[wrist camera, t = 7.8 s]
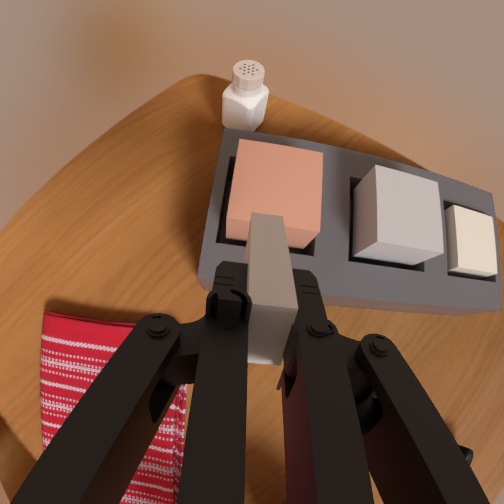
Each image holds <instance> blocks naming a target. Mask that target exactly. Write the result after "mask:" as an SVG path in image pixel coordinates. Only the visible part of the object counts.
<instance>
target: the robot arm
mask: <svg viewBox="0 0 504 504" xmlns="http://www.w3.org/2000/svg"><path fill="white" fill-rule="evenodd" d="M282 359H284V368H283V371H282V374H281V377H280V379H279V382H278V385H277V390H280V388H281V387H282V406H283V425H284V446H285V469H286V495H287V504H374V499H373V493H372V487H371V481H370V475H369V472H370V474H371V476H372V478H373V480H374V483H375V485H376V487H377V489H378V492H379V494H380V496H381V498H382V500H383V503H384V504H490V503H489V501H488V499H487V497H486V495H485V493H484V491H483V489H482V487H481V486H480V484H479V482H478V480H477V478H476V476H475V474H474V473H473V471H472V469H471V467H470V465H469V463H468V462H467V460H466V458H465V456H464V455H463V453H462V451H461V449H460V448H459V446H458V444H457V442H456V441H455V439H454V437H453V436H452V434H451V432H450V431H449V429H448V427H447V426H446V424H445V422H444V421H443V419H442V417H441V416H440V414H439V412H438V411H437V409H436V407H435V406H434V404H433V403H432V401H431V399H430V398H429V396H428V395H427V393H426V392H425V390H424V388H423V387H422V385H421V384H420V382H419V381H418V379H417V378H416V376H415V374H414V373H413V371H412V370H411V368H410V367H409V365H408V364H407V362H406V361H405V359H404V358H403V356H402V355H401V353H400V352H399V350H398V349H397V347H396V346H395V345H394V343H393V342H392V341H391V340H390V339H388V338H386V337H385V336H383V335H379V334H368V335H365V336H364V337H363V338H362V340H361V342H360V341H357V340H354V339H350V338H347V337H345V336H342V335H340V334H339V333H338V330H337V328H336V326H335V325H334V324H333V323H332V322H331V321H330V320H328V319H327V316H326V312H325V308H324V304H323V300H322V296H321V292H320V288H319V285H318V281H317V278H316V277H315V276H314V274H313V273H312V272H311V271H310V270H303V269H295V268H292V266H291V260H290V254H289V248H288V243H287V237H286V231H285V226H284V220H283V216H277V215H270V214H263V213H255V212H251V218H250V225H249V231H248V238H247V245H246V251H245V258H244V263H238V262H230V261H222V262H221V263H220V264H219V265H218V266H217V267H216V271H215V277H214V282H213V287H212V291H210V292H209V294H208V296H207V299H206V314H205V316H204V317H202V318H201V319H200V320H197V321H195V322H191V323H184V324H179V323H178V322H177V321H176V320H175V319H174V318H173V317H171V316H169V315H166V314H160V313H158V314H150V315H148V316H145V317H143V318H142V319H141V320H140V321H139V322H138V323H137V324H136V325H135V327H134V328H133V329H132V331H131V332H130V333H129V334H128V336H127V337H126V338H125V340H124V341H123V342H122V344H121V345H120V346H119V347H118V349H117V350H116V351H115V353H114V354H113V355H112V357H111V358H110V359H109V361H108V362H107V363H106V365H105V366H104V367H103V369H102V370H101V371H100V373H99V374H98V375H97V377H96V378H95V380H94V381H93V382H92V384H91V385H90V386H89V388H88V389H87V390H86V392H85V393H84V395H83V396H82V397H81V399H80V400H79V402H78V403H77V404H76V406H75V407H74V408H73V410H72V411H71V413H70V414H69V416H68V417H67V418H66V420H65V421H64V423H63V424H62V426H61V427H60V428H59V430H58V431H57V433H56V434H55V436H54V437H53V439H52V440H51V441H50V443H49V444H48V446H47V447H46V449H45V450H44V452H43V453H42V455H41V456H40V458H39V459H38V461H37V462H36V464H35V465H34V467H33V468H32V470H31V471H30V473H29V474H28V476H27V478H26V479H25V481H24V482H23V484H22V485H21V487H20V489H19V490H18V492H17V493H16V495H15V496H14V498H13V500H12V501H11V503H10V504H119V503H120V501H121V499H122V497H123V496H124V494H125V492H126V490H127V488H128V486H129V484H130V482H131V480H132V478H133V476H134V475H135V473H136V471H137V469H138V467H139V465H140V463H141V461H142V459H143V457H144V455H145V454H146V452H147V450H148V448H149V446H150V444H151V442H152V440H153V438H154V436H155V434H156V433H157V431H158V429H159V427H160V425H161V423H162V421H163V419H164V417H165V415H166V413H167V412H168V410H169V408H170V406H171V404H172V402H173V400H174V398H175V396H176V394H177V392H178V391H179V389H180V387H181V385H185V384H192V383H194V387H193V393H192V400H191V406H190V413H189V419H188V426H187V433H186V439H185V446H184V453H183V461H182V468H181V476H180V483H179V491H178V499H177V504H244V491H245V449H246V408H247V368H248V363H258V364H270V365H281V362H282Z"/></svg>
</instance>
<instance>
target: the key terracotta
mask: <svg viewBox="0 0 504 504" xmlns="http://www.w3.org/2000/svg"><path fill="white" fill-rule="evenodd" d="M322 175H323V153H321V152H316V151H311V150H306V149H301V148H295V147H289V146H284V145H278V144H272V143H265V142H259V141H252V140H245V139H239V145H238V150H237V156H236V162H235V168H234V174H233V180H232V186H231V192H230V198H229V205H228V211H227V217H226V238H227V239H234V240H241V241H247V238H248V231H249V225H250V218H251V212H255V213H263V214H270V215H277V216H283V220H284V226H285V231H286V237H287V243H288V247H291V248H298V249H304V248H305V247H306V246H307V245H308V244H309V243H310V242H311V241H312V240H313V238H314V237H315V236H316V235H317V234H318V233H319V232H320V222H321V202H322Z"/></svg>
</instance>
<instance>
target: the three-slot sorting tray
mask: <svg viewBox="0 0 504 504" xmlns="http://www.w3.org/2000/svg"><path fill="white" fill-rule="evenodd" d="M239 139H245V140H252V141H259V142H265V143H272V144H278V145H284V146H289V147H295V148H301V149H306V150H311V151H316V152H321V153H323V175H322V202H321V222H320V232H319V233H318V234H317V235H316V236H315V237H314V238H313V240H312V241H311V242H310V243H309V244H308V245H307V246H306V247H305V248H304V249H298V248H291V247H288V248H289V254H290V260H291V266H292V268H295V269H303V270H310V271H311V272H312V273H313V274H314V276H315V277H316V278H317V281H318V285H319V288H320V292H321V296H322V300H323V304H324V305H333V306H343V307H353V308H364V309H376V310H387V311H400V312H413V313H428V314H444V315H469V314H477V313H484V312H491V311H498V310H501V271H500V254H499V243H498V233H497V224H496V217H495V210H494V204H493V198H492V193H489V192H487V191H484V190H481V189H479V188H476V187H474V186H471V185H468V184H465V183H462V182H460V181H457V180H454V179H451V178H448V177H445V176H442V175H439V174H436V173H433V172H430V171H427V170H423V169H420V168H417V167H414V166H410V165H407V164H403V163H400V162H396V161H393V160H389V159H385V158H382V157H378V156H374V155H370V154H366V153H362V152H358V151H354V150H349V149H345V148H341V147H336V146H331V145H327V144H322V143H317V142H312V141H307V140H302V139H296V138H291V137H285V136H279V135H273V134H267V133H260V132H253V131H246V130H239V129H231V128H224V131H223V136H222V141H221V146H220V151H219V156H218V161H217V166H216V171H215V176H214V181H213V187H212V192H211V197H210V203H209V208H208V214H207V220H206V226H205V231H204V237H203V243H202V249H201V256H200V262H199V268H198V275H197V279H198V281H199V283H200V284H201V286H202V288H203V290H210V291H212V287H213V282H214V277H215V271H216V267H217V266H218V265H219V264H220V263H221V262H222V261H230V262H238V263H244V258H245V251H246V245H247V241H241V240H234V239H227V238H226V217H227V211H228V205H229V198H230V192H231V186H232V180H233V174H234V168H235V162H236V156H237V150H238V145H239ZM375 165H379V166H383V167H386V168H390V169H394V170H398V171H401V172H405V173H408V174H412V175H415V176H419V177H422V178H426V179H429V180H432V181H435V182H438V189H439V197H440V207H441V218H442V231H443V249H444V253H443V254H441V255H438V256H436V257H433V258H431V259H428V260H425V261H423V262H420V263H418V264H415V265H407V264H400V263H394V262H387V261H380V260H374V259H367V258H360V257H353V256H352V249H353V189H354V188H355V187H356V186H357V185H358V184H359V183H360V181H361V180H362V179H363V178H364V177H365V176H366V175H367V173H368V172H369V171H370V170H371V169H372V168H373V167H374V166H375ZM452 205H456V206H460V207H463V208H466V209H469V210H473V211H476V212H479V213H482V214H485V215H488V216H491V217H492V218H493V226H494V235H495V245H496V258H497V274H495V275H491V276H488V277H484V278H480V279H476V280H475V279H468V278H461V277H454V276H448V275H447V243H446V228H445V216H444V210H446V209H447V208H449V207H451V206H452Z"/></svg>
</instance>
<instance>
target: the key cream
mask: <svg viewBox="0 0 504 504" xmlns="http://www.w3.org/2000/svg"><path fill="white" fill-rule="evenodd" d="M444 216H445V228H446V243H447V275H448V276H454V277H461V278H468V279H475V280H476V279H480V278H484V277H488V276H491V275H495V274H497V258H496V245H495V235H494V226H493V218H492V217H491V216H488V215H485V214H482V213H479V212H476V211H473V210H469V209H466V208H463V207H460V206H456V205H452V206H451V207H449V208H447V209H446V210H444Z"/></svg>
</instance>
